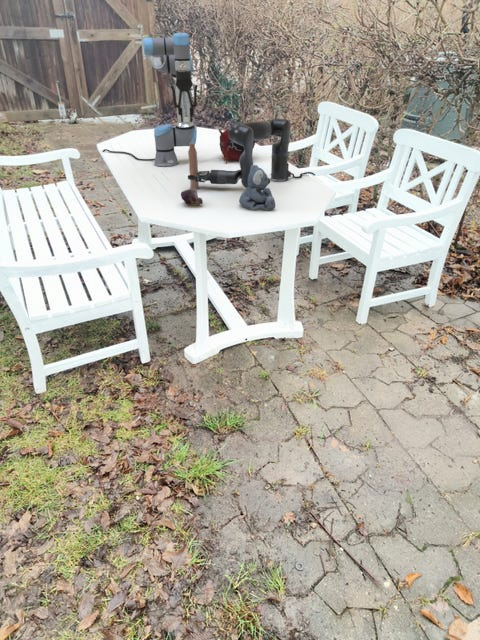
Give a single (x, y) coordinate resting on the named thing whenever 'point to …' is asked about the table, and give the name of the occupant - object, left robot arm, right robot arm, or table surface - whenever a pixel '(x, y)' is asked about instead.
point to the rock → (191, 197)
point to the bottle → (193, 165)
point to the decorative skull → (230, 147)
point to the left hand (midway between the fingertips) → (186, 121)
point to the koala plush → (257, 191)
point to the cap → (186, 119)
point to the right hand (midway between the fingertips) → (189, 175)
